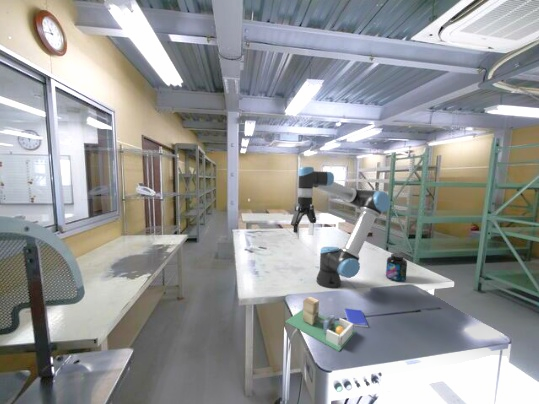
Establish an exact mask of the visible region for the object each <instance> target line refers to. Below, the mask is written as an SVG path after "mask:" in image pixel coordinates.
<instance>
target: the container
mask: <svg viewBox="0 0 539 404" xmlns="http://www.w3.org/2000/svg"><path fill="white" fill-rule="evenodd" d="M385 266H386V270H385V277H386V278H387V279H388V280H389V281H393V282H396V283H397V282H399V283H402V282H405V281H406V279H407V269H408V268H407V267H408V261H407V260H406V259H405V258H404V255H402V254H399V253H391V254H390V256H388V257H387V259H386V265H385Z"/></svg>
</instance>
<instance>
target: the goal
mask: <svg viewBox="0 0 539 404" xmlns="http://www.w3.org/2000/svg"><path fill="white" fill-rule="evenodd" d="M338 323H339V326H341V327H343V328H344V329H345V330H344V331H343V332H342V333H341V334H340V335H338V334H336V333H334V332H332V331H330V330H327V333H326V340H328V341H329V342H331V343H333V344H335V345H337V346H339V347H341V346H342V345H343V344H344V342H345V341H346V340H347V339H348V338H349V337H350V336H351V335H352V333H353V330H354V327H355V326H354V324H353V323H351V322H348V320H347V319H343V318H341V317H339V318H338Z"/></svg>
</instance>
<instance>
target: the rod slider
mask: <svg viewBox="0 0 539 404" xmlns="http://www.w3.org/2000/svg"><path fill="white" fill-rule="evenodd" d="M319 305H320V300H319V299H316V298H314V297H311V296H308V297H307V298H305V299H303V305H302V307H303V308H302V310H303V321H305V322H307V323H309V324H311V325H313V324H314V323H316V322H317V321H318V322H320V323H323V324H324V327H323V333H325V334H326V333H327V330H331V329H333V328H334V326H335V322H336V321H335V320H336V315H334V314H330V315H329V316H328V317H326V318H327V319H326V320H324V319H322V318H320V317H318V314H319V311H320V310H319V309H320V306H319Z"/></svg>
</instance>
